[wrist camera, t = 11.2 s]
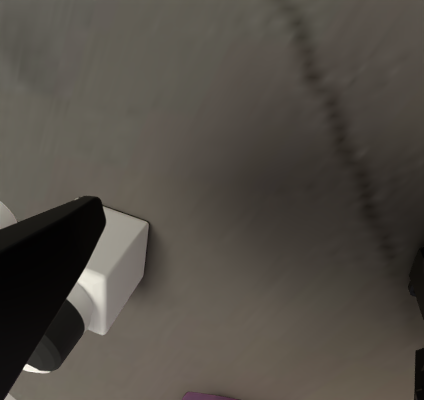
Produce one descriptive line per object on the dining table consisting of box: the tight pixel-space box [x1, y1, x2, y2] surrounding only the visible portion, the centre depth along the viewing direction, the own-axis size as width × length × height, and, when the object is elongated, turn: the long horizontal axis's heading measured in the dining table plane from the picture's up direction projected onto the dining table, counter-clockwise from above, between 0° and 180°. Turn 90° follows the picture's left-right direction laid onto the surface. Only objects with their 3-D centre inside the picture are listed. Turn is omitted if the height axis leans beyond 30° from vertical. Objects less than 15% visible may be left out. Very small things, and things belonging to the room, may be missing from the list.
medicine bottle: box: [23, 198, 149, 373], centre depth 25 cm, size 7×7×12 cm
